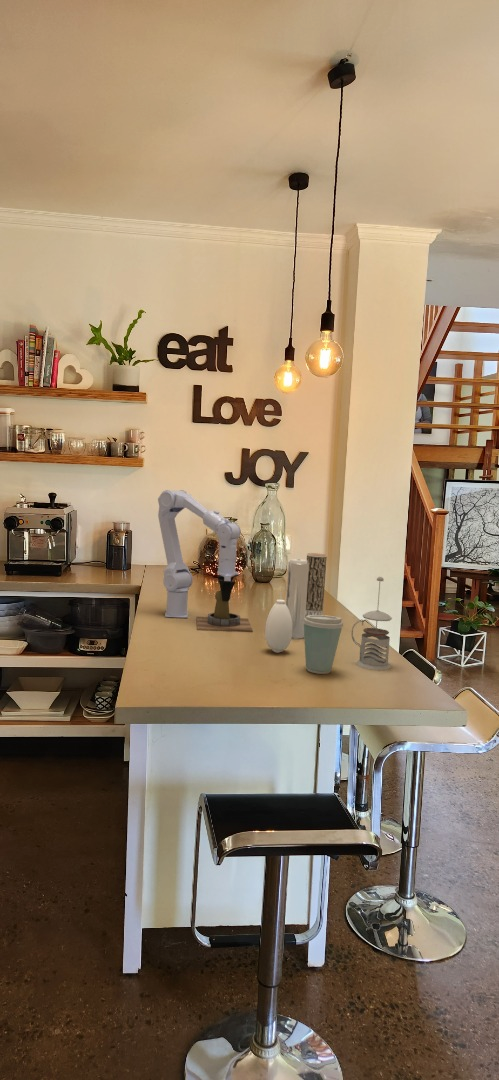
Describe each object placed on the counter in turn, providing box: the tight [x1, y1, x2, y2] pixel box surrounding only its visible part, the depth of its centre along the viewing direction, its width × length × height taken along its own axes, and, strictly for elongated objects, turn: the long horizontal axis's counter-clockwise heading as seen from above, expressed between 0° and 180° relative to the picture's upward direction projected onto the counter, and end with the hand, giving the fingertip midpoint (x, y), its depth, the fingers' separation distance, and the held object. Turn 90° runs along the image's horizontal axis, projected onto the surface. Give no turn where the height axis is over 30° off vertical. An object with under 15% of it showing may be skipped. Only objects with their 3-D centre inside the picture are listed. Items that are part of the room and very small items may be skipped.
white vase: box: [264, 591, 292, 654], centre depth 199 cm, size 8×8×18 cm
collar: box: [207, 612, 241, 627], centre depth 231 cm, size 11×11×2 cm
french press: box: [351, 576, 393, 671], centre depth 191 cm, size 10×12×25 cm
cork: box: [213, 590, 231, 619], centre depth 230 cm, size 6×6×11 cm
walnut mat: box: [196, 615, 253, 633], centre depth 231 cm, size 18×18×1 cm
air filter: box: [285, 558, 309, 640], centre depth 219 cm, size 6×6×25 cm
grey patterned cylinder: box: [305, 552, 328, 617], centre depth 237 cm, size 7×7×25 cm
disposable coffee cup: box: [303, 614, 344, 675], centre depth 182 cm, size 11×11×15 cm
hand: (224, 599), depth 230 cm, fingers open, 7 cm apart
